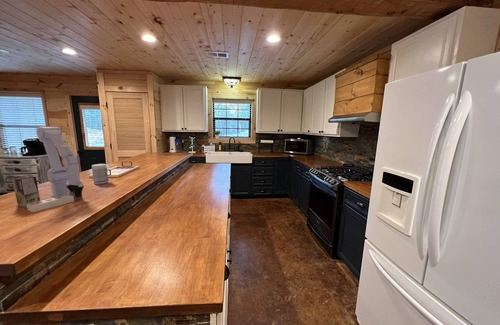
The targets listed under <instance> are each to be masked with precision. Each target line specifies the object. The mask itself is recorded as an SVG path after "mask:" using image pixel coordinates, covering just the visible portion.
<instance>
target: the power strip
mask: <svg viewBox="0 0 500 325" xmlns="http://www.w3.org/2000/svg"><path fill="white" fill-rule="evenodd" d="M73 202H75V200H74V197H73V195H69V194H67V195H63V196H59V197H52V198H46V199H43V200H40V201H38V202H34V203H29V204H27V207H26V208H27V211H29V212H31V213H36V212H39V211H43V210H47V209H50V208H55V207H58V206H63V205H65V204H69V203H73Z"/></svg>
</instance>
